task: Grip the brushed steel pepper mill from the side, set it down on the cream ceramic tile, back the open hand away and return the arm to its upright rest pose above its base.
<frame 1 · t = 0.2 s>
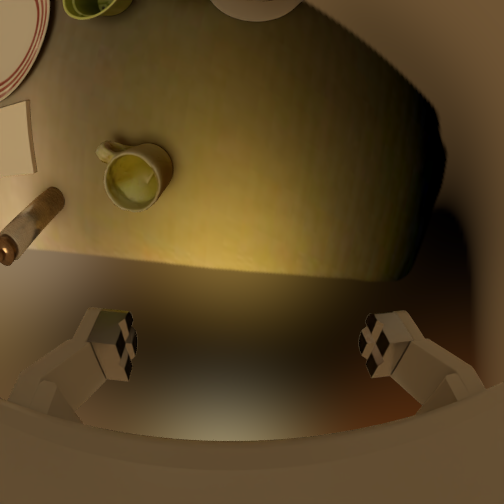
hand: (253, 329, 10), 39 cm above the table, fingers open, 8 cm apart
serving tile: (7, 141, 38), on the table
pepper mill: (53, 199, 46), on the table
mug: (140, 159, 44), on the table
dinner plate: (3, 36, 26), on the table
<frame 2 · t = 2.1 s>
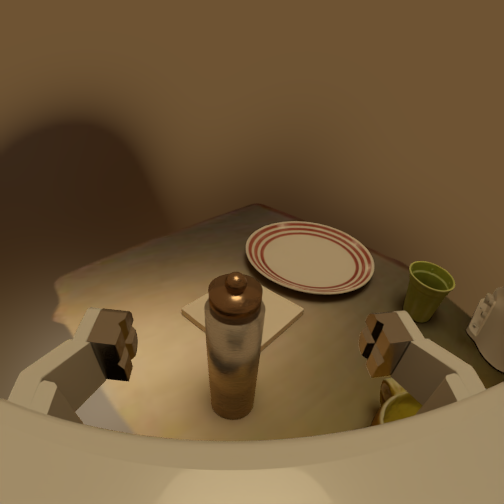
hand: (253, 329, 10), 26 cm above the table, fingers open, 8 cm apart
serving tile: (243, 315, 47), on the table
pepper mill: (232, 402, 33), on the table
mug: (386, 442, 28), on the table
plant pot: (415, 313, 49), on the table
dinner plate: (309, 263, 63), on the table
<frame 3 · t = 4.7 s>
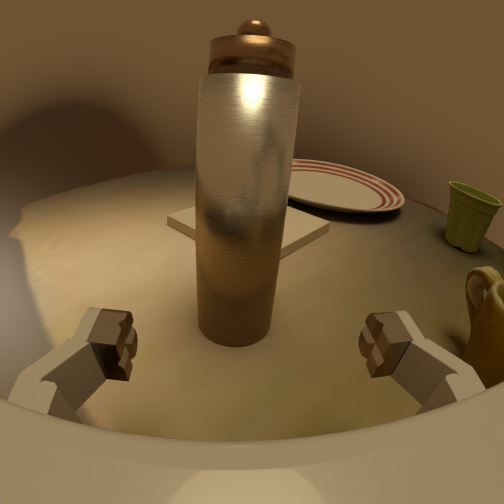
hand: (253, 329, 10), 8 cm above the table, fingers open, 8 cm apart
serving tile: (249, 226, 36), on the table
pepper mill: (234, 320, 21), on the table
mug: (480, 381, 16), on the table
plant pot: (459, 245, 37), on the table
dinner plate: (327, 195, 51), on the table
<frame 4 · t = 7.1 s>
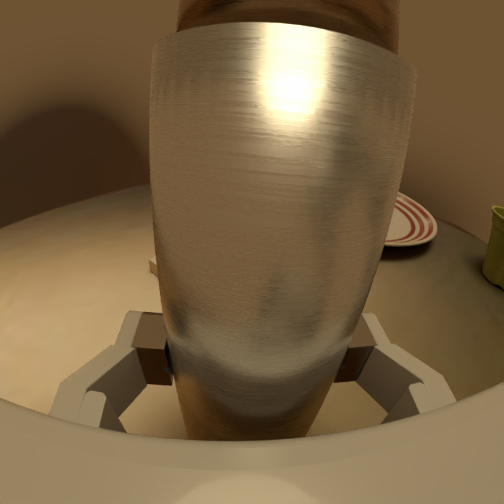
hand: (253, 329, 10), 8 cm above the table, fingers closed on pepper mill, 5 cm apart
pepper mill: (242, 446, 13), on the table, touching gripper
plant pot: (497, 280, 29), on the table
dinner plate: (346, 217, 43), on the table
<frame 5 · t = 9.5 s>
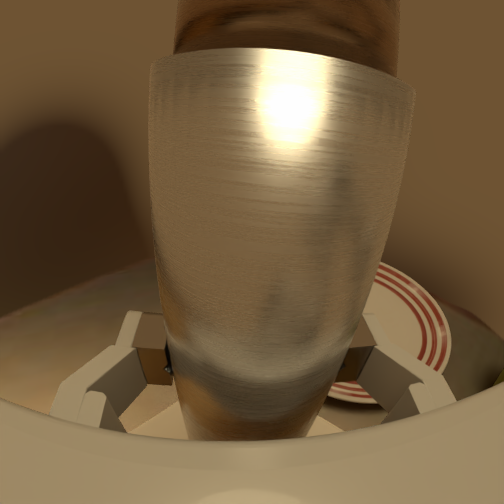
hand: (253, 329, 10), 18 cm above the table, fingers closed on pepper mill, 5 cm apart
serving tile: (239, 452, 20), on the table
pepper mill: (242, 449, 13), point 9 cm above the table, touching gripper
plant pot: (503, 402, 22), on the table
dinner plate: (350, 326, 36), on the table
when the fingers open (11 cm above the table, at t = 11.9 s): pepper mill stays where it is, resting on serving tile.
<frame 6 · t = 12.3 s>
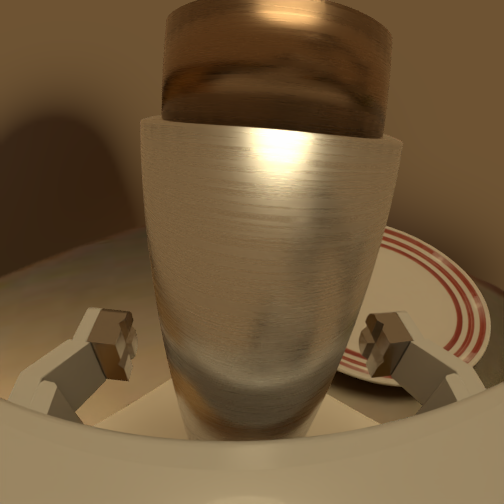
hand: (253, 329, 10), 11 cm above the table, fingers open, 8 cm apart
serving tile: (240, 461, 14), on the table
pepper mill: (242, 455, 13), point 1 cm above the table, touching serving tile
dinner plate: (372, 299, 30), on the table
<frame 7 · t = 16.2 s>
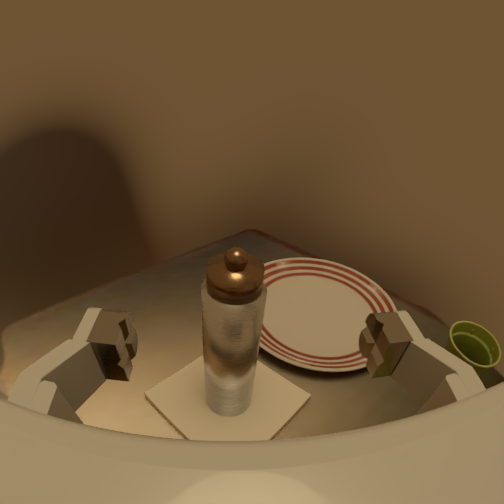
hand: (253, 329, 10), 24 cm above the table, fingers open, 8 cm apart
serving tile: (227, 403, 32), on the table
pepper mill: (228, 398, 31), point 1 cm above the table, touching serving tile
plant pot: (447, 383, 34), on the table
dinner plate: (316, 317, 48), on the table
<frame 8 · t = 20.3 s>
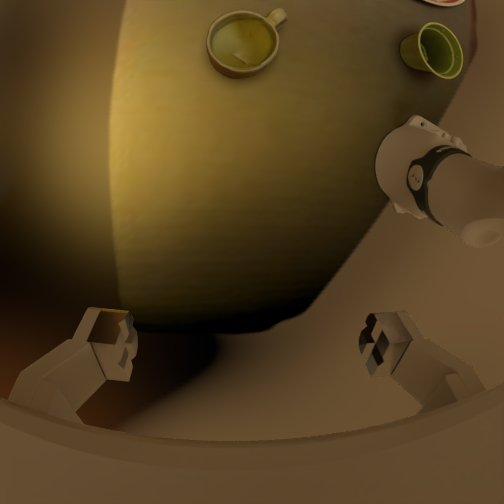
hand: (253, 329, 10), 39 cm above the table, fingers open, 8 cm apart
mug: (248, 45, 36), on the table
plant pot: (412, 53, 36), on the table
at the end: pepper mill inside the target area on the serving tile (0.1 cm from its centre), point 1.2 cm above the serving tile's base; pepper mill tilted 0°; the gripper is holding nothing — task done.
